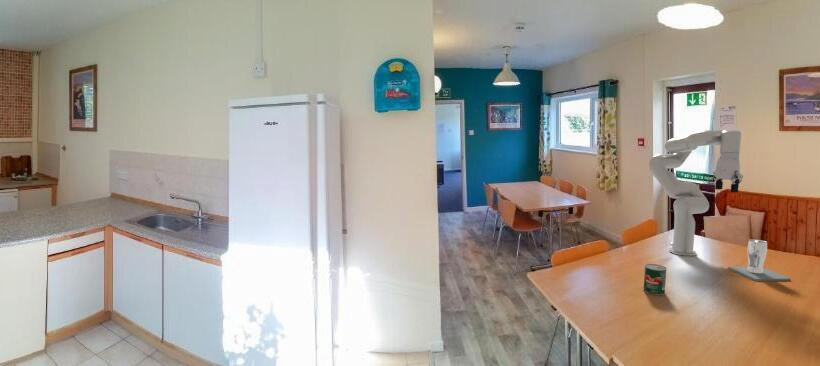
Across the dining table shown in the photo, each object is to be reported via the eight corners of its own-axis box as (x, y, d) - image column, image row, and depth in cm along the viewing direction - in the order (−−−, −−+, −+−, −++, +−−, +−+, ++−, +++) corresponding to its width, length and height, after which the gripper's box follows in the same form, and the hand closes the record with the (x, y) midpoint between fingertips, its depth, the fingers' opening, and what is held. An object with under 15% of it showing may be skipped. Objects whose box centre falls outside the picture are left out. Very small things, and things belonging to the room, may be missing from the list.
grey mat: (727, 269, 199) (727, 267, 198) (759, 268, 199) (760, 266, 199) (755, 281, 183) (755, 279, 183) (790, 280, 183) (790, 278, 183)
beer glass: (757, 269, 194) (760, 239, 193) (768, 274, 188) (771, 243, 186) (741, 269, 195) (744, 239, 193) (752, 274, 188) (755, 243, 186)
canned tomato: (645, 293, 171) (646, 268, 169) (641, 287, 178) (643, 263, 176) (666, 296, 168) (668, 270, 166) (662, 289, 175) (664, 265, 174)
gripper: (708, 155, 205) (705, 188, 207) (735, 157, 188) (732, 193, 190) (723, 154, 205) (720, 188, 207) (751, 157, 188) (748, 193, 190)
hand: (726, 190), depth 199 cm, fingers open, 9 cm apart
